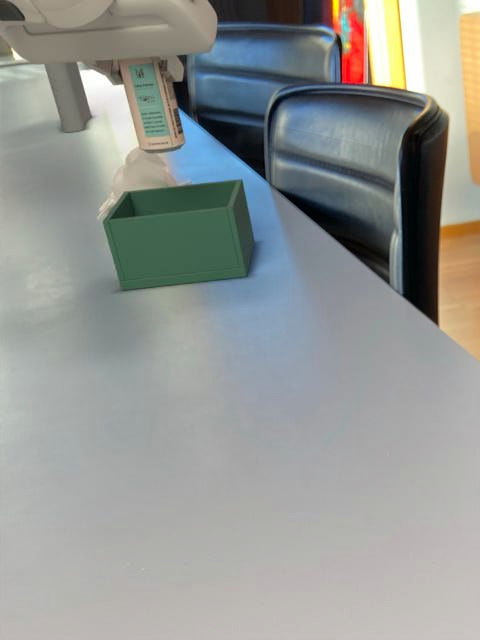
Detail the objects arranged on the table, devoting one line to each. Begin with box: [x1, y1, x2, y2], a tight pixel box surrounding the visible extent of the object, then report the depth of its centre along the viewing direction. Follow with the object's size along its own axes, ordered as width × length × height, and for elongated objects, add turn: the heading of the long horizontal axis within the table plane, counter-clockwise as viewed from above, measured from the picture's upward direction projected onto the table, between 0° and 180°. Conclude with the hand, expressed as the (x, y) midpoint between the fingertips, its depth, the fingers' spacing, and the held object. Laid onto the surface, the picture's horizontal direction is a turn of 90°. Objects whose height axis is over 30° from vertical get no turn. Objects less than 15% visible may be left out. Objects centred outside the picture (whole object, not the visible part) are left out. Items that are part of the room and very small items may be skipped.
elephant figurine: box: [96, 146, 192, 221], centre depth 124 cm, size 10×12×9 cm
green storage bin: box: [102, 178, 256, 291], centre depth 111 cm, size 13×13×7 cm
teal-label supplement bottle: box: [117, 56, 187, 154], centre depth 102 cm, size 5×5×12 cm
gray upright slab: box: [43, 62, 93, 133], centre depth 191 cm, size 17×5×25 cm, turn 12°
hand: (149, 77), depth 102 cm, fingers closed on teal-label supplement bottle, 5 cm apart
